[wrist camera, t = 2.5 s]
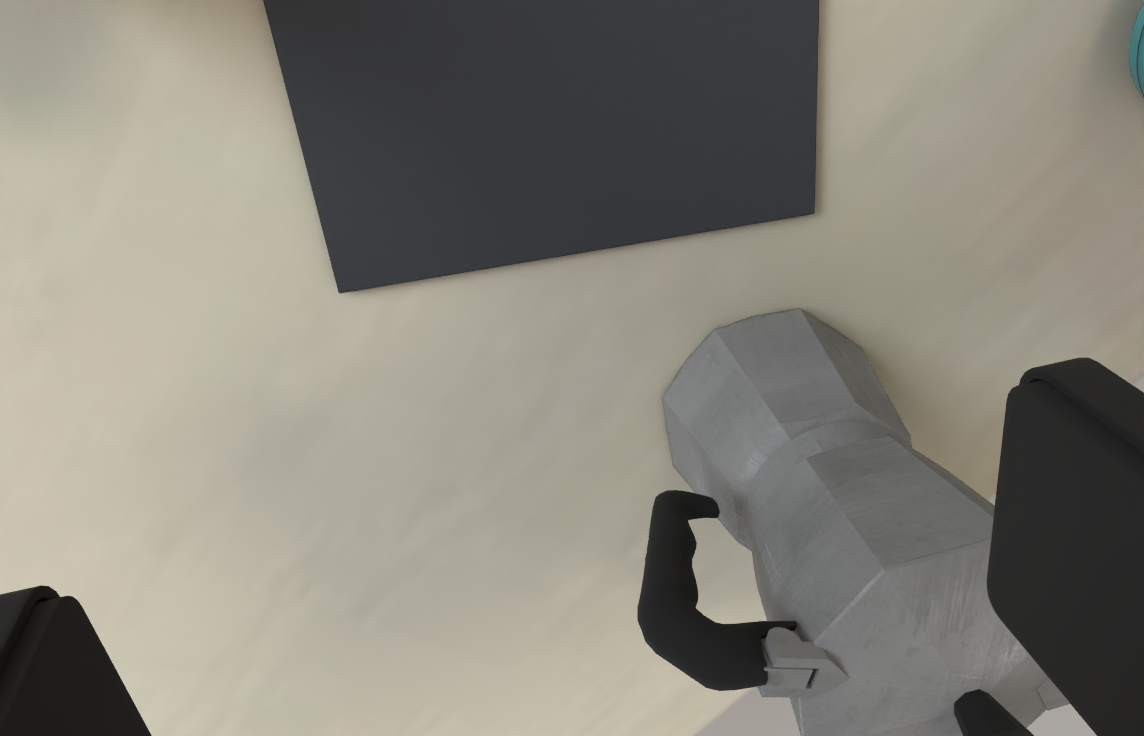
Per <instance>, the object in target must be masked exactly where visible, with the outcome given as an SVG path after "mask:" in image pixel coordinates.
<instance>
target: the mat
mask: <svg viewBox="0 0 1144 736" xmlns="http://www.w3.org/2000/svg"><path fill="white" fill-rule="evenodd" d="M263 1H264V5H265V8H266V12H267V16H268V20H269V24H270V28H271V32H272V36H273V39H274V43H275V47H276V51H277V55H278V59H279V63H280V67H281V70H282V74H283V78H284V82H285V86H286V90H287V94H288V98H289V101H290V105H291V109H292V113H293V117H294V121H295V125H296V129H297V132H298V136H299V140H300V144H301V148H302V152H303V156H304V160H305V164H306V167H307V171H308V175H309V179H310V183H311V187H312V191H313V195H314V198H315V202H316V206H317V210H318V214H319V218H320V222H321V226H322V229H323V233H324V237H325V241H326V245H327V249H328V253H329V257H330V260H331V264H332V268H333V272H334V276H335V280H336V284H337V288H338V291H339V293H344V292H350V291H356V290H362V289H368V288H374V287H380V286H386V285H392V284H398V283H404V282H410V281H416V280H422V279H428V278H434V277H440V276H446V275H452V274H458V273H464V272H470V271H475V270H481V269H487V268H493V267H499V266H505V265H511V264H517V263H523V262H529V261H535V260H541V259H547V258H553V257H559V256H565V255H571V254H577V253H583V252H589V251H595V250H601V249H606V248H612V247H618V246H624V245H630V244H636V243H642V242H648V241H654V240H660V239H666V238H672V237H678V236H684V235H690V234H696V233H702V232H708V231H714V230H720V229H726V228H732V227H738V226H743V225H749V224H755V223H761V222H767V221H773V220H779V219H785V218H791V217H797V216H803V215H809V214H814V210H815V163H816V117H817V71H818V25H819V0H263Z"/></svg>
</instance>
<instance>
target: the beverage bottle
mask: <svg viewBox="0 0 1144 736" xmlns="http://www.w3.org/2000/svg"><path fill="white" fill-rule="evenodd" d="M1129 63H1130V71H1131V75H1132V78H1133V81H1134V83H1135V86H1136V88H1137V89H1138V91H1139V92H1140V94H1141V95H1142V96H1143V97H1144V4H1143V6H1142V8H1141V10H1140V12H1139V14H1138V16H1137V19H1136V22H1135V25H1134V28H1133V32H1132V36H1131V41H1130V49H1129Z"/></svg>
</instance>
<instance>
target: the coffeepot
mask: <svg viewBox="0 0 1144 736" xmlns="http://www.w3.org/2000/svg"><path fill="white" fill-rule="evenodd" d="M662 399H663V406H664V412H665V421H666V430H667V434H668V437H669V443H670V450H671V456H672V462H673V467H674V468H675V469H676V471H677V472H678V473H679V474H680V475H681V476H682V478H683V479H684V480H685V481H686V482H687V483H688V485H689V486H690V487H691V488H692V489H693V490H694V492H695V493H691V492H686V491H678V490H669V491H665V492H663V493H661V494H659V495H658V496H657V497H656V498H655V502H654V505H653V510H652V517H651V523H650V531H649V541H648V546H647V554H646V558H645V568H644V576H643V583H642V589H641V594H640V599H639V604H638V622H639V625H640V627H641V630H642V633H643V636H644V639H645V641H646V643H647V644H648V645H649V646H650V647H651V648H652V649H653V651H654V652H655V653H656V654H658V655H659V656H661V657H662V658H664V659H665V660H666V661H668V662H669V663H671V664H672V665H674V666H675V667H677V668H678V669H680V670H681V671H683V672H684V673H686V674H687V675H688V676H690V677H691V678H693V679H694V680H696V681H697V682H699V683H700V684H702V685H703V686H705V687H706V688H710V689H714V690H718V691H725V690H738V689H744V688H751V687H757V688H758V689H759V692H760V694H761V696H762V697H790V700H791V704H792V707H793V710H794V714H795V717H796V721H797V724H798V727H799V731H800V734H801V736H1034V735H1033V734H1032V733H1031V732H1030V731H1029V730H1027V729H1026V728H1027V727H1028V726H1029V725H1030V724H1031V723H1032V722H1033V721H1035V720H1036V719H1037V718H1038V717H1039V716H1040V715H1041V714H1042V713H1043V712H1044V711H1045V710H1051V709H1054V708H1058V707H1061V706H1064V705H1067V704H1070V703H1069V701H1068V700H1067V699H1066V698H1065V697H1064V695H1063V694H1062V693H1061V692H1060V691H1059V689H1058V688H1057V687H1056V686H1055V685H1054V683H1053V682H1052V681H1051V680H1050V679H1049V677H1048V676H1047V675H1046V674H1045V673H1044V671H1043V670H1042V669H1041V668H1040V667H1039V665H1038V664H1037V663H1036V662H1035V661H1034V659H1033V658H1032V657H1031V656H1030V655H1029V653H1028V652H1027V651H1026V650H1025V649H1024V647H1023V646H1022V645H1021V644H1020V643H1019V641H1018V640H1017V639H1016V638H1015V637H1014V635H1013V634H1012V633H1011V632H1010V631H1009V629H1008V628H1007V627H1006V626H1005V625H1004V623H1003V622H1002V621H1001V620H1000V619H999V617H998V616H997V614H996V613H995V611H994V609H993V607H992V605H991V603H990V600H989V597H988V592H987V572H988V563H989V554H990V546H991V537H992V528H993V519H994V510H995V506H994V505H993V504H991V503H990V502H989V501H987V500H986V499H985V498H983V497H982V496H981V495H979V494H978V493H977V492H975V491H974V490H973V489H971V488H970V487H969V486H967V485H966V484H965V483H963V482H962V481H961V480H959V479H958V478H957V477H955V476H954V475H953V474H951V473H950V472H949V471H947V470H946V469H944V468H943V467H941V466H939V465H938V464H936V463H935V462H933V461H932V460H930V459H929V458H927V457H925V456H924V455H922V454H921V453H919V452H917V451H915V450H914V449H912V445H911V438H910V435H909V433H908V431H907V429H906V428H905V426H904V424H903V422H902V420H901V419H900V417H899V415H898V413H897V411H896V409H895V408H894V406H893V404H892V402H891V400H890V399H889V397H888V395H887V393H886V391H885V390H884V388H883V386H882V384H881V382H880V381H879V379H878V377H877V375H876V373H875V372H874V370H873V368H872V366H871V364H870V362H869V361H868V359H867V357H866V355H865V353H864V352H863V350H862V348H861V347H860V346H858V345H856V344H855V343H853V342H852V341H850V340H849V339H847V338H846V337H844V336H843V335H841V334H840V333H838V332H837V331H835V330H834V329H833V328H831V327H830V326H828V325H826V324H824V323H822V322H820V321H819V320H817V319H816V318H814V317H813V316H811V315H810V314H808V313H806V312H805V311H803V310H802V309H800V308H799V309H793V310H787V311H782V312H776V313H769V314H763V315H756V316H753V317H750V318H747V319H744V320H741V321H738V322H735V323H733V324H731V325H729V326H727V327H722V328H718V329H715V330H714V331H713V332H712V333H711V334H710V335H709V336H708V337H707V338H706V339H705V340H704V341H703V343H702V344H701V345H700V346H699V347H698V348H697V349H696V350H695V351H694V352H693V353H692V355H691V356H690V357H689V358H688V359H687V360H686V361H685V363H684V364H683V366H682V368H681V369H680V371H679V372H678V374H677V375H676V377H675V380H674V382H673V384H672V385H671V387H670V388H669V389H668V391H667V392H666V393H665V394H664V396H663V397H662ZM697 518H717V519H718V520H719V521H720V522H721V523H722V524H723V526H724V527H725V528H726V529H727V530H728V531H729V533H730V534H731V535H732V536H733V537H734V538H735V540H736V541H737V542H738V543H740V544H741V545H743V546H744V547H746V548H747V549H749V550H750V551H752V555H753V563H754V570H755V576H756V582H757V587H758V591H759V594H760V598H761V601H762V604H763V608H764V611H765V615H766V618H767V621H759V622H749V623H740V624H720V623H715V622H713V621H712V620H710V619H709V618H707V617H705V616H704V615H703V614H702V613H700V612H699V611H698V610H697V609H696V605H697V602H698V589H697V584H696V580H695V576H694V572H693V569H692V558H693V556H694V553H695V550H696V544H697V543H696V540H695V536H694V534H693V532H692V530H691V528H690V525H689V523H688V520H691V519H697Z"/></svg>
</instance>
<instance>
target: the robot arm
mask: <svg viewBox="0 0 1144 736" xmlns="http://www.w3.org/2000/svg"><path fill="white" fill-rule="evenodd" d="M987 592H988V597H989V600H990V603H991V605H992V607H993V609H994V611H995V613H996V614H997V616H998V617H999V619H1000V620H1001V621H1002V622H1003V623H1004V625H1005V626H1006V627H1007V628H1008V629H1009V631H1010V632H1011V633H1012V634H1013V635H1014V637H1015V638H1016V639H1017V640H1018V641H1019V643H1020V644H1021V645H1022V646H1023V647H1024V649H1025V650H1026V651H1027V652H1028V653H1029V655H1030V656H1031V657H1032V658H1033V659H1034V661H1035V662H1036V663H1037V664H1038V665H1039V667H1040V668H1041V669H1042V670H1043V671H1044V673H1045V674H1046V675H1047V676H1048V677H1049V679H1050V680H1051V681H1052V682H1053V683H1054V685H1055V686H1056V687H1057V688H1058V689H1059V691H1060V692H1061V693H1062V694H1063V695H1064V697H1065V698H1066V699H1067V700H1068V701H1069V703H1070V704H1071V705H1072V706H1073V707H1074V708H1075V710H1076V711H1077V712H1078V713H1079V715H1080V716H1081V717H1082V718H1083V719H1084V720H1085V722H1086V723H1087V724H1088V725H1089V726H1090V728H1091V729H1092V730H1093V731H1094V732H1095V734H1096V735H1097V736H1144V393H1143V392H1142V391H1140V390H1139V389H1137V388H1136V387H1134V386H1133V385H1131V384H1130V383H1128V382H1127V381H1125V380H1124V379H1122V378H1121V377H1119V376H1118V375H1116V374H1115V373H1113V372H1112V371H1110V370H1109V369H1107V368H1106V367H1104V366H1103V365H1101V364H1100V363H1098V362H1097V361H1094V360H1092V359H1090V358H1076V359H1072V360H1067V361H1063V362H1058V363H1054V364H1049V365H1044V366H1040V367H1035V368H1032V369H1030V370H1028V371H1026V372H1025V373H1024V375H1023V376H1022V378H1021V380H1020V384H1019V386H1016V387H1014V388H1012V389H1011V391H1010V392H1009V394H1008V398H1007V403H1006V412H1005V421H1004V430H1003V439H1002V448H1001V457H1000V465H999V474H998V483H997V492H996V501H995V510H994V519H993V528H992V537H991V546H990V554H989V563H988V572H987ZM0 736H151V734H150V732H149V730H148V728H147V726H146V725H145V723H144V721H143V719H142V717H141V715H140V713H139V712H138V710H137V708H136V706H135V704H134V702H133V700H132V699H131V697H130V695H129V693H128V691H127V689H126V687H125V686H124V684H123V682H122V680H121V678H120V676H119V674H118V673H117V671H116V669H115V667H114V665H113V663H112V661H111V660H110V658H109V656H108V654H107V652H106V650H105V648H104V647H103V645H102V643H101V641H100V639H99V637H98V635H97V634H96V632H95V630H94V628H93V626H92V624H91V622H90V621H89V619H88V617H87V615H86V613H85V611H84V609H83V608H82V606H81V605H80V603H79V602H78V600H76V599H75V598H74V597H72V596H64V597H60V596H59V595H58V593H57V592H56V591H55V590H53V589H52V588H50V587H49V586H37V587H33V588H28V589H24V590H19V591H15V592H10V593H6V594H1V595H0Z"/></svg>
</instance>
